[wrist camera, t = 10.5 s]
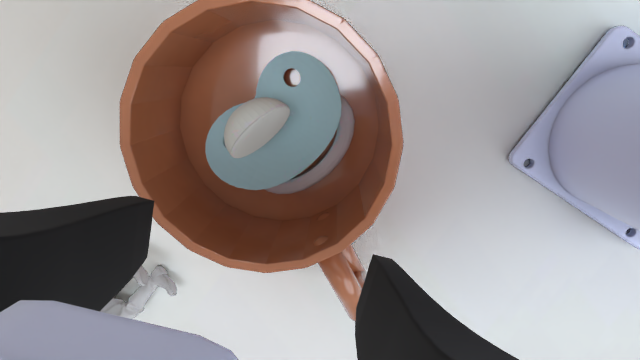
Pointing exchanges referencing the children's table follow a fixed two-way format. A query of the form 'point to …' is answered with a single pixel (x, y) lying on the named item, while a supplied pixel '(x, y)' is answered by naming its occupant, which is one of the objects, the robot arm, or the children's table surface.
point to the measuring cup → (191, 133)
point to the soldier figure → (141, 293)
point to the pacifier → (282, 130)
